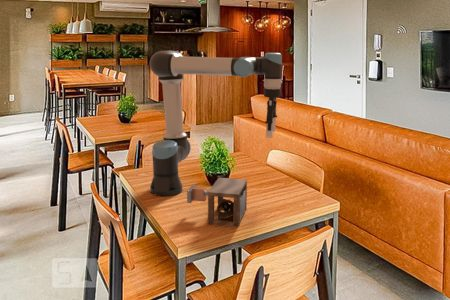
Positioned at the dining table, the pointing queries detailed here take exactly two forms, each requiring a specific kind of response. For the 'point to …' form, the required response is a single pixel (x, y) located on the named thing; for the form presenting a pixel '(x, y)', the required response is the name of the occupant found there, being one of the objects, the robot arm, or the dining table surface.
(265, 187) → the dining table surface
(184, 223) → the dining table surface
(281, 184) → the dining table surface
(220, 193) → the walnut stool
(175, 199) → the dining table surface
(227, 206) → the pottery mug
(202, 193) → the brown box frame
